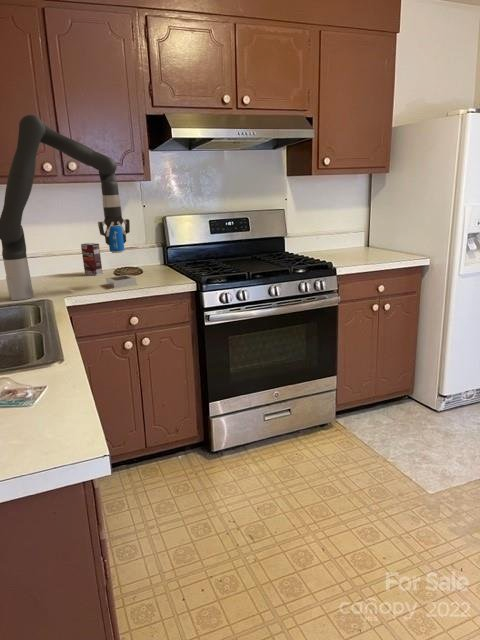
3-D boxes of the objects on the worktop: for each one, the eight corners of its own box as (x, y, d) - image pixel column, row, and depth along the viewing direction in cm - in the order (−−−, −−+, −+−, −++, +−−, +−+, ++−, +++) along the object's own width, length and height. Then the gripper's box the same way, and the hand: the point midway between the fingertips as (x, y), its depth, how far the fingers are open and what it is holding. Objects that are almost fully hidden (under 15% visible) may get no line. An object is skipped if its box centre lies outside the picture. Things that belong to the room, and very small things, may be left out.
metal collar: (114, 288, 213) (113, 281, 212) (106, 284, 221) (105, 278, 220) (136, 284, 218) (135, 278, 217) (128, 280, 227) (127, 274, 226)
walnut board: (106, 291, 211) (105, 289, 211) (98, 287, 219) (98, 285, 219) (138, 285, 219) (137, 284, 219) (130, 282, 227) (129, 280, 227)
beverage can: (109, 253, 212) (106, 226, 208) (110, 251, 218) (107, 224, 214) (124, 252, 213) (121, 225, 209) (124, 250, 219) (121, 224, 215)
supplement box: (84, 274, 250) (80, 244, 245) (91, 272, 254) (87, 242, 249) (96, 275, 246) (92, 244, 241) (103, 273, 250) (99, 243, 245)
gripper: (98, 207, 202) (103, 246, 207) (130, 204, 210) (134, 243, 215) (92, 206, 208) (97, 245, 213) (124, 204, 216) (128, 241, 221)
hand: (116, 243), depth 214 cm, fingers closed on beverage can, 6 cm apart
